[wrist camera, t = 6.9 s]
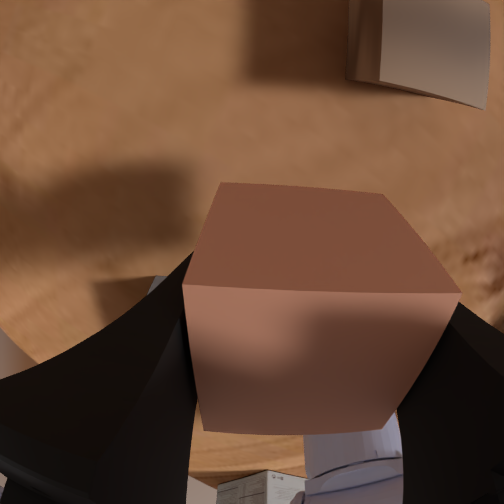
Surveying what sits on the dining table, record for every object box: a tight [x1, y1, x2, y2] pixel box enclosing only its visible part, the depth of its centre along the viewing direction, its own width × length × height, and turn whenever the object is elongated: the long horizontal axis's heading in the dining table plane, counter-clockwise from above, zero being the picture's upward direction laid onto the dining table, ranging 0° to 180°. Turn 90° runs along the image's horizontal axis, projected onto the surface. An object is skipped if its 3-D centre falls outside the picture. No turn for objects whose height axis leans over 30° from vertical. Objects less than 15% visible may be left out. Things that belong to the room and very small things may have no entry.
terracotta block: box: [182, 183, 462, 435], centre depth 8 cm, size 5×5×5 cm
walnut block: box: [345, 0, 490, 110], centre depth 10 cm, size 5×5×5 cm
